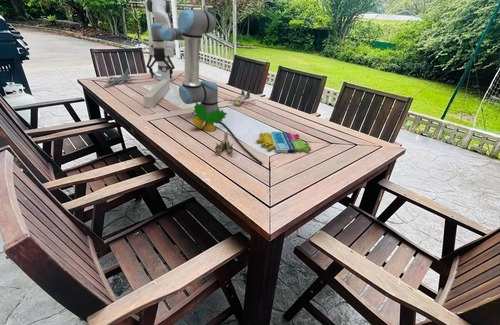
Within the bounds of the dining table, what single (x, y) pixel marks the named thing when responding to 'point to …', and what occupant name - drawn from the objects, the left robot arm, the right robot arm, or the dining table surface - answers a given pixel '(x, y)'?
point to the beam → (156, 93)
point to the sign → (283, 142)
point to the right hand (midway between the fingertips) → (161, 78)
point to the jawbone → (224, 145)
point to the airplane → (119, 79)
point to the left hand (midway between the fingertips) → (162, 62)
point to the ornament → (207, 117)
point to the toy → (241, 99)
